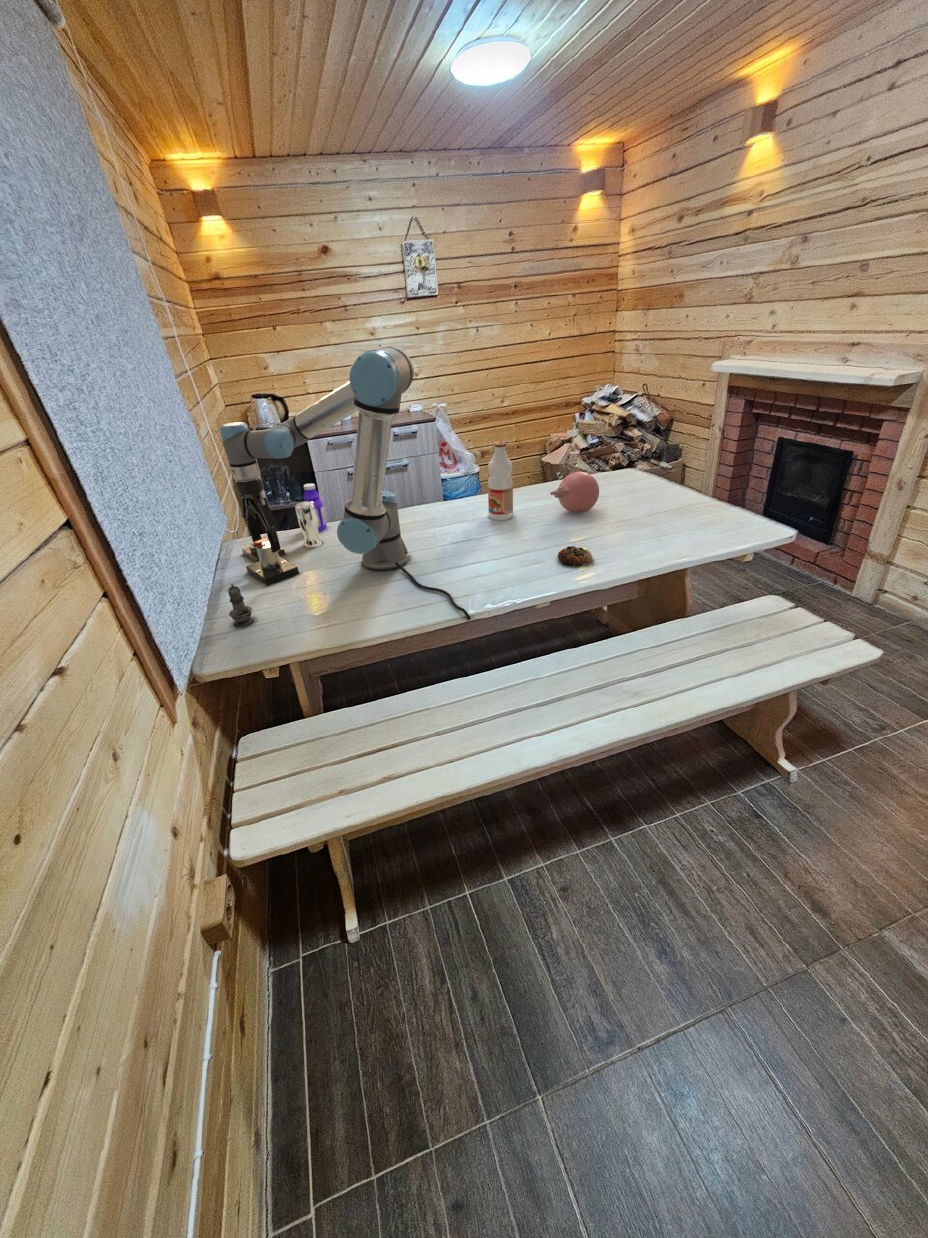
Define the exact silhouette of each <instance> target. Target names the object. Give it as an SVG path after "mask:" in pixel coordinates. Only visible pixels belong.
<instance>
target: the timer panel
mask: <svg viewBox="0 0 928 1238" xmlns="http://www.w3.org/2000/svg"><path fill="white" fill-rule="evenodd" d="M279 559H280V563H281V566H280V567H278V568H276V569H273V570H263V569H262V567H261V564H260V561H259V562H253V563H251V564H248V565H245V567H246V571H247V574H249V575H250V576H252V577H253V578H255V579H256V580H258V581H259V582H260V583H262V584H263V585H265V586H266V587H267V586H271V585H273V584H276V583H278V582H281V581H285V580H286V579H290V578H292V577H294V576H297V575H299V574H300V571H299V568H298V566H297V565H295V564H293V563H291V562H290V561H288V560H286V559H285V558H283V557H282V556H279Z"/></svg>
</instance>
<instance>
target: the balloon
mask: <svg viewBox="0 0 928 1238" xmlns="http://www.w3.org/2000/svg"><path fill="white" fill-rule="evenodd" d="M550 495H551V496H554V498H556V499H558V501H559V503H560V505H561V507H563V508H564V509H565V510H566V511H567V512H569V513H573V514H581V513H586V512H588V511H590V510H591V509H592V508H593V507H595V505H596V503H597V501H598V500H599V497H600V487H599V483H598V481H597V480H596V479H595V477H594V476H593V475H592V474H590V473H588V472H585V471H574V472H571V473H569V474H568V475H566V476H565V477H564V478H563V479H562V480H561V481H560V483H559V485H558V487H557V488H556V489H555V490H553V491H550Z"/></svg>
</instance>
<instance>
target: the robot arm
mask: <svg viewBox="0 0 928 1238" xmlns="http://www.w3.org/2000/svg"><path fill="white" fill-rule="evenodd" d="M414 369H415V368H414V365H413V362H412V359H411V358H410V356H409V355H408V354H407V353H406V352H405V351H404V350H402V349H401V348H399V347H396V346H385V347H381V348H377V349H376V348H375V349H370V350H366V351H365V352H364V353H362V354H361V355H359V356H358V357H357V358H356V359H355V360H354V361H353V363H352V365H351V366H350V370H349V375H348V376H349V377H348V381H347V382H345V383H344V384H343V385H341V386H340V387H337V388H336V389H335V390H333V391H332V392H329V394H327V395H325V396H324V397H321V398H320V399H319V400H317V401H316V402H314V403H313V404H311V405H309V406H308V407H306V408H304V409H303V410H301V411H300V412H298V413H297V414H295V415H293V416H292V417H290V418H288V419H287V420H285V421H283V422H281V423H279V424H276V425H274V426H271V427H268V428H266V429H257V430H255V429H254V430H253V429H252V430H251V429H249V426H248V424H247V423H246V422H244V421H234V422H227V423H224V424H222V425H220V426H219V433H220V437H221V443H222V446H223V448H224V451H225V454H226V457H227V461H228V464H229V468H230V471H229V473H230V475H232V478H233V480H234V485H235V488H236V489H235V490H236V492H237V494H238V495H239V497H240V507H241V517H242V518H243V519H244V520H245V522H246V523H247V526H248V530H249V533H250V537H251V540H252V543H253V542H255V541H258V540H261V537H262V535H261V532H260V529H259V525H258V521H257V520H256V519H258V518H257V517H256V514H257V515H258V517H259V519H260V520H261V522H262V524H263V526H264V527H265V534H266V537H267V538H268V540H269V543H270V547H271V550H272V552H273V553H274V552H277V551H279V550H281V548H282V547H281V544H280V539H279V536H278V533H277V531H279V530H280V527H279V525H278V522H277V521H276V519H275V516H274V514H273V512H272V510H271V508H270V505H269V503H268V499H267V497H262V496H261V492H263V491H264V490H265V487H264V483H263V479H262V477H261V470H260V467H259V464H258V463H259V462H258V461H257V459H277V460H279V459H286V458H289V457H291V456H292V453H293V452H294V449H295V448H297V447H300V446H302V445H304V444H306V443H307V442H308V441H310V439H312V438H314V437H315V436H317V435H319V434H321V433H323V432H324V431H326V430H328V429H329V428H331V427H333V426H335V425H336V424H339V422H342V421H343V420H345V419H346V418H348V417H349V416H351V415H353V414H355V413H357V412H358V420H357V428H356V430H357V431H356V439H355V440H356V441H355V452H354V460H353V461H354V462H353V473H352V483H351V484H352V485H351V494H350V495H351V496H350V497H349V498H348V499H346V500H345V502H344V509H343V510H344V511H343V519H342V520H340V522H339V524H338V526H337V529H336V536H337V539H338V540H339V542H340V544H341V545H342V546H343V547H344V548H345V549H346V550H347V551H349V552H351V553H353V554H356V555H362V556H361V559H362V564H363V566H364V567H365V568H367V569H369V570H373V571H390V570H394V569H397V568H398V569H400V570H401V571H402V572H403V573H404V574H405V575H406V576H408V577H409V579H410V580H411V581H412V582H413V583H414V584H415V586H417V587H419V588H420V589H424V590H427V591H433V592H439V593H442V594H443V595H445V596H447V598H448V599H449V601H450V603H451V605H452V606H453V607H454V608H455V609H457V610H458V611H461V612H462V613H463V614H464V616H465V618H466V619H467V620H468V621H470V620H472V618H471V616H470V614H469V613H468V612H467V610H466V609H465V608H463V607H461V606H459V605H458V604H457V603H456V602H455V600H454V598H453V597H452V595H451V594H450V593H449V592H447V590H445V589H442V588H437V587H433V586H432V587H431V586H426V585H423V584H422V583H420V582H418V581H417V580H416V578H415V577H414V576H413V575H412V574H411V573H410V572H409V571H408V570H407V569H406V568H404V567H403V566H404V565H406V564H407V563H408V562H409V560H410V554H409V550H408V549H407V547H406V544H405V542H404V540H403V538H402V534H401V526H400V517H399V508H398V503H399V502H397V501H398V500H397V496H396V494H395V493H394V492H392V491H388V490H384V488H385V487H384V486H385V480H386V478H385V477H386V471H387V464H388V463H387V462H388V456H389V447H390V439H391V432H392V424H393V418H394V417H396V416H397V415H399V414H400V409H401V401H402V396H403V395H402V394H404V393H405V392H406V391H408V389H409V388H410V387H411V385H412V383H413V381H414V377H415V370H414Z"/></svg>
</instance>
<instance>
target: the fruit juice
mask: <svg viewBox="0 0 928 1238" xmlns="http://www.w3.org/2000/svg"><path fill="white" fill-rule="evenodd" d="M507 445H508V444H507V441H503V440H499V441H498V440H497V441H494V442H493V443H492V447H493V448H492V449H493V454H492V457H491V459H490V460H489V462H488V464H487V471H488V474H489V475H488V479H487V480H488V481H487V499H488V501H487V502H488V503H487V504H488V517H489V518H490V519H491V520H493V521H506V520H507V521H508V520H509V519H511V518H513V515H514V479H513V476H512V473H513V462H512V461H511V459H509V457H508V454H507Z"/></svg>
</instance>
